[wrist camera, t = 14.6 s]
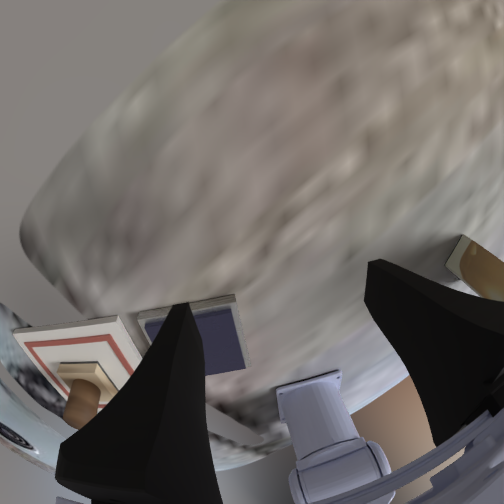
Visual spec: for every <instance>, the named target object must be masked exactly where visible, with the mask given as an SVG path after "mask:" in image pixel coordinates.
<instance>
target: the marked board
mask: <svg viewBox="0 0 504 504" xmlns="http://www.w3.org/2000/svg"><path fill="white" fill-rule="evenodd" d="M13 336H14V337H15V339H16V340H17V341H18V343H19V344H20V346H21V347H22V348H23V350H24V351H25V352H26V354H27V355H28V356H29V358H30V359H31V360H32V362H33V363H34V364H35V365H36V367H37V368H38V369H39V370H40V371H41V373H42V374H43V375H44V376H45V377H46V379H47V380H48V381H49V382H50V383H51V384H52V385H53V386H54V388H55V389H56V390H57V391H58V392H59V393H60V394H61V395H62V396H63V397H64V398H65V399H66V400H68V396H69V393H70V388H69V387H68V386H67V385H66V384H65V383H64V381H63V380H62V379H61V378H60V376H59V375H58V374H57V373H56V372H57V370H58V367H59V364H60V362H87V361H98V362H99V364H100V365H101V366H102V368H103V369H104V371H105V372H106V373H107V375H108V376H109V378H110V379H111V380H112V382H113V383H114V384H115V386H116V387H117V388H118V390H120V389H121V388H122V387H123V386H124V384H125V383H126V382H127V380H128V379H129V378H130V376H131V375H132V374H133V372H134V371H135V369H136V368H137V367H138V365H139V364H140V362H141V360H142V359H143V358H142V357H141V355H140V353H139V352H138V350H137V348H136V347H135V345H134V343H133V341H132V340H131V338H130V336H129V334H128V333H127V331H126V329H125V327H124V325H123V323H122V321H121V320H120V318H119V316H112V317H105V318H98V319H92V320H85V321H77V322H71V323H63V324H55V325H47V326H38V327H30V328H20V329H15V330H14V332H13ZM108 403H109V402H100V401H99V405H98V410H97V412H100V411H101V410H102V409H103V408H104V407H105V406H106V405H107V404H108Z"/></svg>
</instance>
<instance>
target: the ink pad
mask: <svg viewBox="0 0 504 504" xmlns="http://www.w3.org/2000/svg"><path fill="white" fill-rule="evenodd" d="M189 305H190V308H191V311H192V313H193V316H194V319H195V322H196V325H197V327H198V330H199V333H200V335H201V338H202V342H203V350H204V358H205V376H207V375H213V374H219V373H224V372H230V371H235V370H240V369H245V368H246V367H251V363H250V358H249V354H248V350H247V346H246V341H245V337H244V333H243V329H242V324H241V320H240V315H239V311H238V307H237V302H236V298H235V294H234V295H229V296H224V297H219V298H214V299H209V300H204V301H198V302H193V303H189ZM171 307H172V306H171ZM171 307H166V308H160V309H154V310H149V311H143V312H139V315H138V319H137V321H138V323H139V325H140V327H141V328H142V330H143V332H144V334H145V336H146V338H147V340H148V342H149V344H150V346H151V344H152V342H153V341H154V339H155V337H156V335H157V333H158V332H159V330H160V328H161V326H162V324H163V322H164V320H165V319H166V317H167V315H168V313H169V311H170V309H171Z"/></svg>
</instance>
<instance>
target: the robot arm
mask: <svg viewBox="0 0 504 504" xmlns="http://www.w3.org/2000/svg"><path fill="white" fill-rule="evenodd" d="M364 302H365V304H366V306H367V308H368V310H369V312H370V314H371V316H372V318H373V319H374V321H375V322H376V324H377V325H378V327H379V328H380V330H381V331H382V332H383V334H384V335H385V337H386V338H387V339H388V341H389V342H390V344H391V345H392V346H393V348H394V349H395V351H396V352H397V354H398V355H399V356H400V358H401V360H402V361H403V363H404V365H405V366H406V368H407V370H408V372H409V374H410V376H411V378H412V380H413V382H414V384H415V387H416V389H417V392H418V394H419V396H420V398H421V401H422V404H423V407H424V409H425V412H426V415H427V418H428V422H429V425H430V429H431V433H432V437H433V442H434V444H435V446H436V448H435V449H433V450H431V451H430V452H428V453H426V454H425V455H423V456H421V457H420V458H418V459H416V460H414V461H413V462H411V463H409V464H407V465H405V466H403V467H401V468H400V469H397V470H396V471H393V472H391V469H390V466H389V463H388V460H387V458H386V456H385V454H384V452H383V450H382V449H381V447H380V446H379V445H378V444H377V443H375V442H372V441H368V442H365V440H364V438H363V437H361V438H360V437H359V435H358V432H357V430H356V428H355V426H354V423H353V421H352V420H351V417H350V415H349V412H348V410H347V408H346V406H345V404H344V402H343V399H342V397H341V395H340V393H339V390H340V385H341V380H342V374H343V373H342V371H341V370H339V371H335V372H332V373H329V374H326V375H323V376H319V377H316V378H312V379H309V380H305V381H302V382H298V383H294V384H290V385H286V386H282V387H279V388H277V389H276V396H277V403H278V409H279V416H280V422H281V423H287V426H288V429H289V433H290V436H291V439H292V443H293V446H294V449H295V453H296V456H297V459H298V461H296V466H297V468H296V469H293V470H292V471H291V473H290V475H289V485H290V490H291V493H292V496H293V499H294V502H295V504H389V503H390V502H391V500H392V499H393V497H394V495H395V490H396V489H399V488H400V487H403V486H404V485H406V484H408V483H410V482H412V481H414V480H415V479H417V478H419V477H420V476H422V475H424V474H425V473H427V472H429V471H431V470H432V469H434V468H435V467H437V466H438V465H440V464H441V463H443V462H444V461H446V460H447V459H449V458H450V457H452V456H453V455H454V454H456V453H457V452H459V451H460V450H461V449H463V448H464V447H465V446H466V447H465V452H464V454H463V455H462V456H461V457H460V458H459V459H457V460H456V461H455V462H453V463H452V464H450V465H449V466H447V467H446V468H445V469H443V470H442V471H440V472H438V473H437V474H436V475H434V476H432V477H431V478H430V481H431V483H432V485H433V488H431V489H430V490H428V491H426V492H424V493H423V494H421V495H419V496H417V497H416V498H414V499H412V500H410V501H408V502H406V503H405V504H504V302H503V301H496V300H491V299H486V298H482V297H477V296H474V295H470V294H467V293H463V292H460V291H457V290H454V289H451V288H449V287H446V286H444V285H441V284H439V283H436V282H434V281H431V280H429V279H427V278H424V277H422V276H420V275H418V274H415V273H413V272H411V271H409V270H407V269H404V268H402V267H400V266H398V265H395V264H393V263H391V262H388V261H385V260H383V259H378V260H374V261H370V262H368V270H367V279H366V288H365V297H364ZM55 479H56V480H57V482H58V483H59V484H61V485H62V486H64V487H66V488H68V489H70V490H72V491H74V492H76V493H78V494H81V495H82V496H84V497H87V498H89V499H91V504H223V502H222V498H221V494H220V491H219V487H218V483H217V478H216V474H215V469H214V465H213V460H212V454H211V449H210V443H209V437H208V430H207V423H206V410H205V358H204V350H203V342H202V338H201V335H200V333H199V330H198V327H197V325H196V322H195V319H194V316H193V313H192V311H191V308H190V305H189V302H187V303H181V304H176V305H173V306H172V307H171V309H170V311H169V313H168V315H167V317H166V319H165V320H164V322H163V324H162V326H161V328H160V330H159V332H158V333H157V335H156V337H155V339H154V341H153V342H152V344H151V346H150V348H149V349H148V351H147V352H146V354H145V356H144V357H143V359H142V360H141V362H140V364H139V365H138V367H137V368H136V369H135V371H134V372H133V374H132V375H131V376H130V378H129V379H128V380H127V382H126V383H125V384H124V386H123V387H122V388H121V389H120V390H119V391H118V392H117V394H116V395H115V396H114V397H113V398H112V399H111V400H110V401H109V403H108V404H107V405H106V406H105V407H104V408H103V409H102V410H101V411H100V412H99V413H98V414H97V415H96V416H95V417H93V418H92V419H91V420H90V421H89V422H88V423H87V424H86V425H84V426H83V427H82V428H81V429H80V430H78V431H77V432H76V433H74V434H73V435H72V436H70V437H69V438H68V439H66V440H65V441H64V442H62V443H61V444H60V449H59V454H58V460H57V466H56V473H55ZM56 504H83V503H79V502H75V501H72V500H68V499H64V498H61V497H56Z"/></svg>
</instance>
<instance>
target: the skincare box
mask: <svg viewBox="0 0 504 504" xmlns="http://www.w3.org/2000/svg"><path fill="white" fill-rule="evenodd" d="M445 266H446V267H447V268H448V269H449V270H450V271H451V272H452V273H453V274H455V275H456V276H457V277H458V278H460V279H461V280H462V281H463V282H464V283H465V284H466V285H468V286H469V287H470V288H471V289H472V290H473V291H474V292H475V293H477V294H478V295H479V296H480V297H482V298H486V299H491V300H496V301H503V302H504V262H502V261H501V260H500V259H498V258H497V257H496V256H494V255H493V254H492V253H490V252H489V251H487V250H486V249H484V248H483V247H482V246H480V245H479V244H477V243H476V242H474V241H473V240H471V239H470V238H468V237H467V236H465V235H462V237H461V239H460V241H459V242H458V244H457V246H456V247H455V249H454V251H453V252H452V254H451V256H450V257H449V259H448V261H447V262H446V264H445Z"/></svg>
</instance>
